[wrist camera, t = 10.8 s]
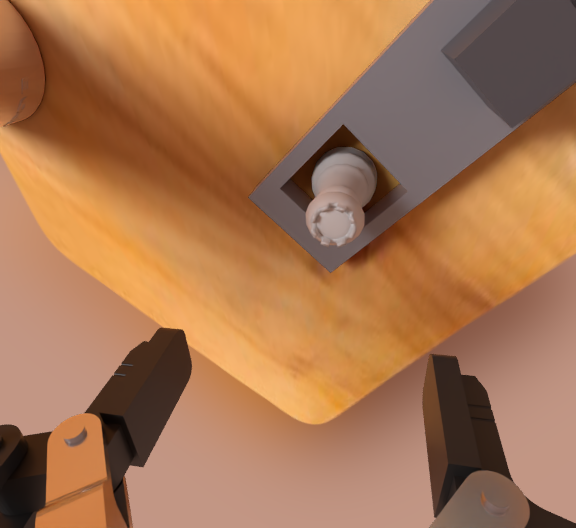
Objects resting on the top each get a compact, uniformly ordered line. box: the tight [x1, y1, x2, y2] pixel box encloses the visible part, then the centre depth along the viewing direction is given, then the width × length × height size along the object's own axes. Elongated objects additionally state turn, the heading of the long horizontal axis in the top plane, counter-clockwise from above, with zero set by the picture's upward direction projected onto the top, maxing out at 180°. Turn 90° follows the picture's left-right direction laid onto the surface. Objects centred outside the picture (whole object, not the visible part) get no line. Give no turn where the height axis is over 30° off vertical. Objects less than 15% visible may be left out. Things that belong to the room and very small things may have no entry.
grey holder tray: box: [248, 0, 576, 273], centre depth 22 cm, size 22×8×8 cm, turn 138°
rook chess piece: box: [306, 147, 377, 248], centre depth 25 cm, size 4×4×8 cm
